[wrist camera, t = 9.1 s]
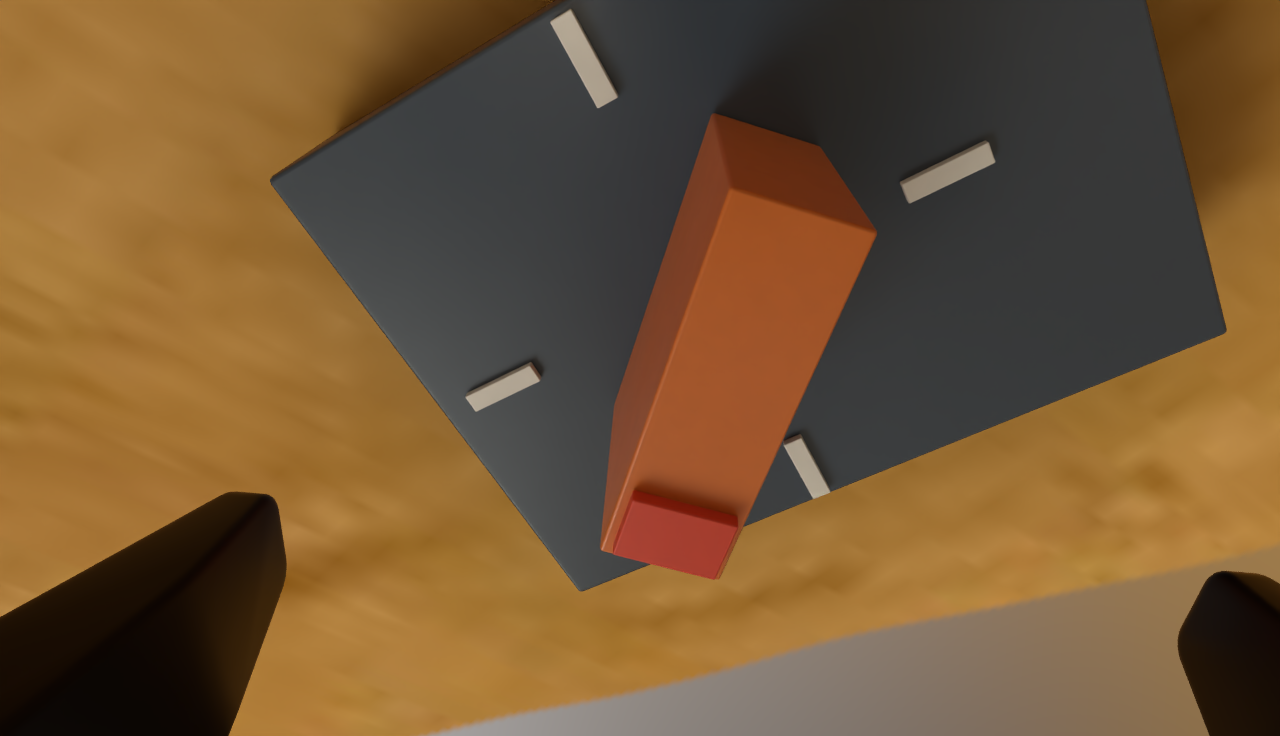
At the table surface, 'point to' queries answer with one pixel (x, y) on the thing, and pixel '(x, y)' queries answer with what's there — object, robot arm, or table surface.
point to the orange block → (728, 343)
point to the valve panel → (865, 160)
